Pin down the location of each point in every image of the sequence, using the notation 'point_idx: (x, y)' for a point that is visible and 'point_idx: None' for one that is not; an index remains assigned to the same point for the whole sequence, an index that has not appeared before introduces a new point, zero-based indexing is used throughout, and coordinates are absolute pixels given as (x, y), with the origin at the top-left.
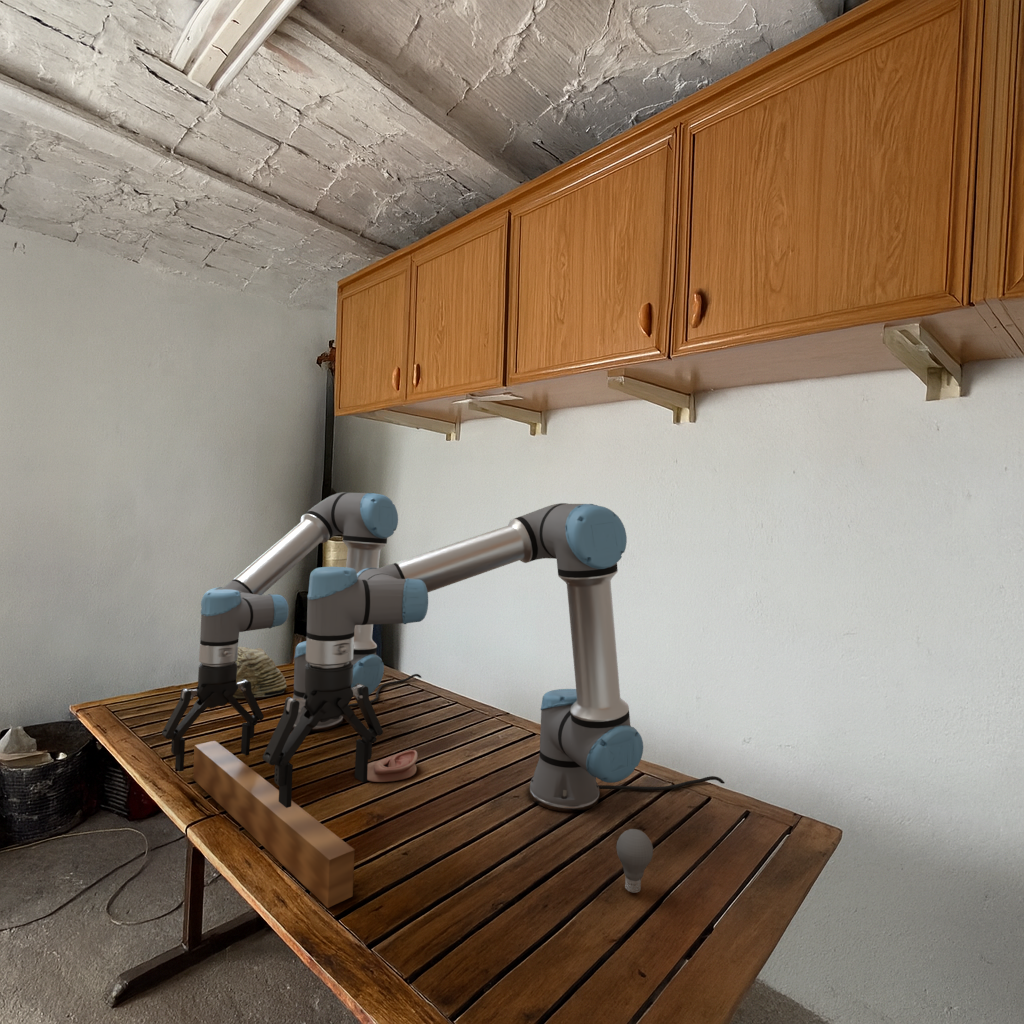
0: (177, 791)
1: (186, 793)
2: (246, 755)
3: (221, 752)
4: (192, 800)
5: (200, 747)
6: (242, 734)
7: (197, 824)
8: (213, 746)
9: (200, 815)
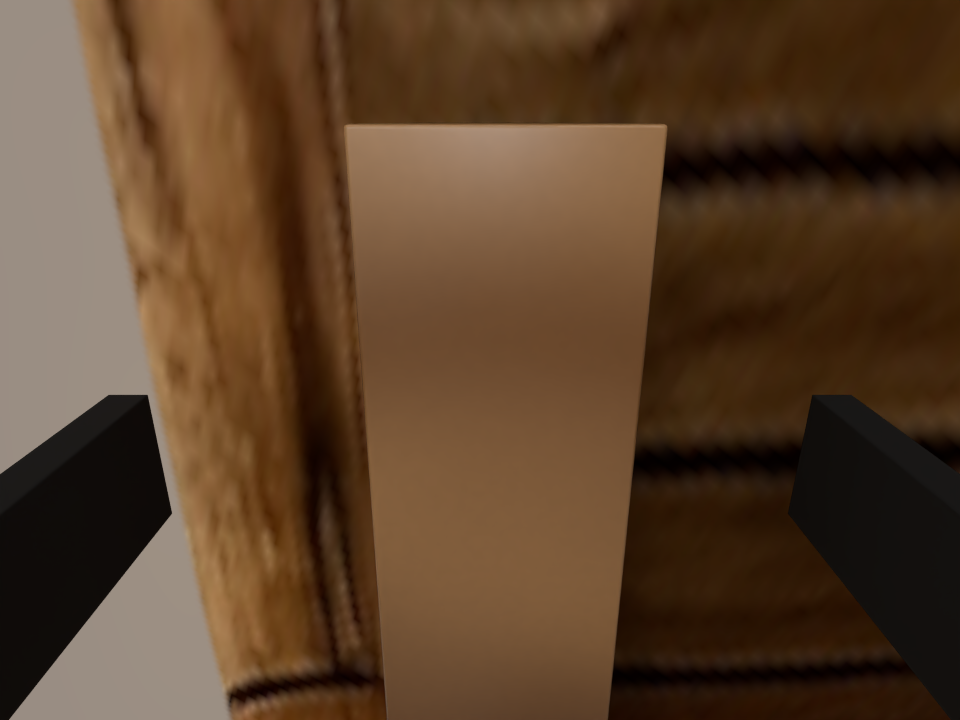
0: (256, 270)
1: (303, 343)
2: (794, 515)
3: (540, 580)
4: (312, 464)
5: (392, 276)
6: (957, 538)
7: (269, 710)
8: (545, 352)
9: (305, 645)
